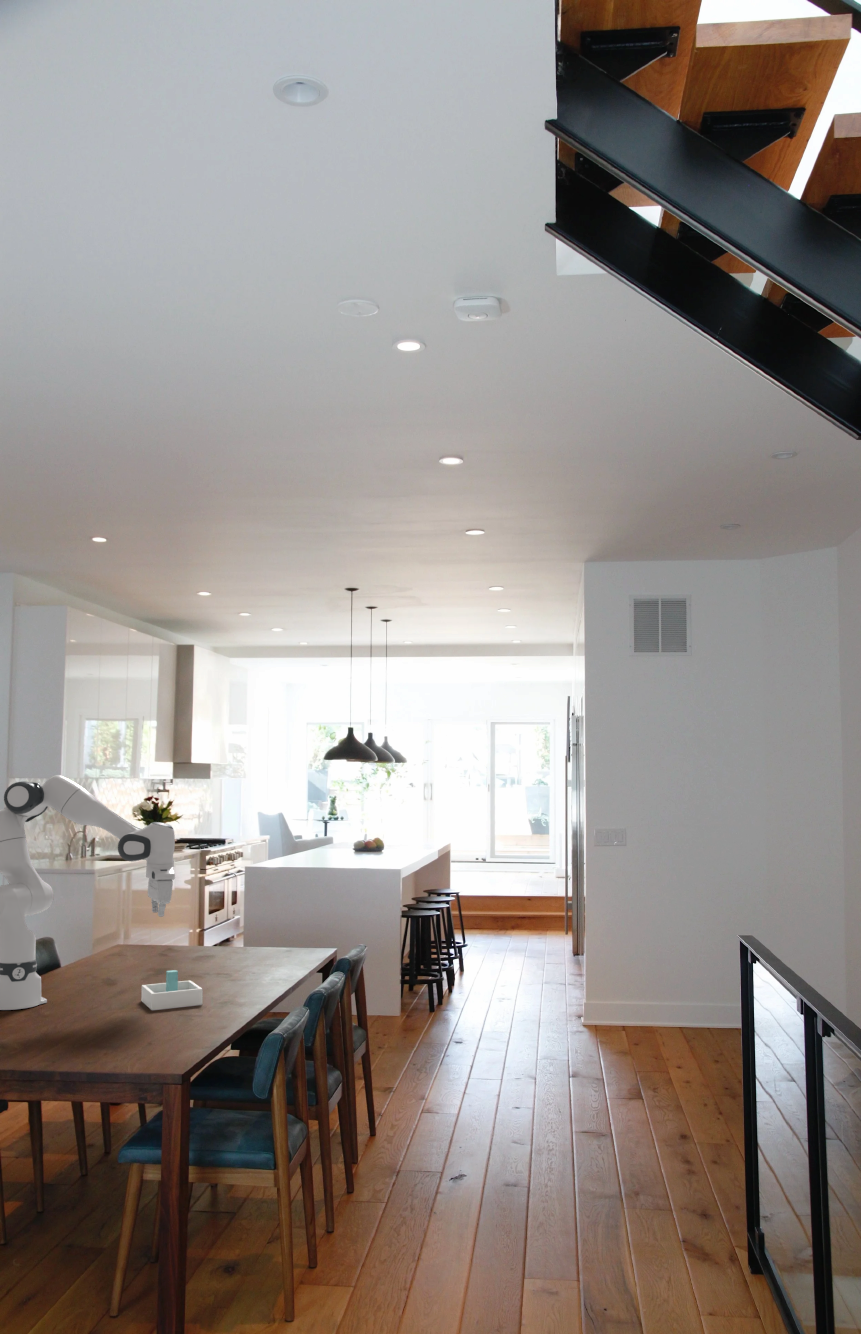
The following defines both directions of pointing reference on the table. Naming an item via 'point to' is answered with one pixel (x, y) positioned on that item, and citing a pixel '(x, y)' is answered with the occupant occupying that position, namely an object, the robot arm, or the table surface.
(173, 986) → the peg
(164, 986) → the box
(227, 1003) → the table surface
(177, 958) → the table surface
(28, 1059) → the table surface
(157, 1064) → the table surface
